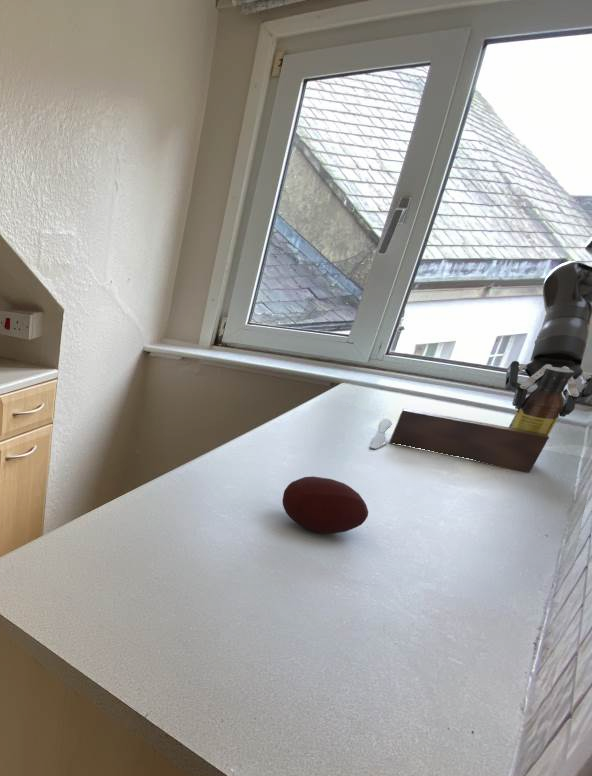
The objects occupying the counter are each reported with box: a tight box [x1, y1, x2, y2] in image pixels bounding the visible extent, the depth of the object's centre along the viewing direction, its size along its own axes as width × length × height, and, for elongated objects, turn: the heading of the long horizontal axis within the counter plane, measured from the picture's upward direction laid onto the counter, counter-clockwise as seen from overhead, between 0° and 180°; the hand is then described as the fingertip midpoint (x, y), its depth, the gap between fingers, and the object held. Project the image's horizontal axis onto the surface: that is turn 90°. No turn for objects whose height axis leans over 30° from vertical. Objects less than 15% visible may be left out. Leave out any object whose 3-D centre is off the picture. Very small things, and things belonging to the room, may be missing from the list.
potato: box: [281, 475, 369, 535], centre depth 89 cm, size 12×11×8 cm
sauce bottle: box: [508, 367, 574, 436], centre depth 115 cm, size 6×6×20 cm
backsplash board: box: [389, 407, 550, 474], centre depth 119 cm, size 24×2×8 cm, turn 53°
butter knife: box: [369, 418, 392, 450], centre depth 132 cm, size 1×27×3 cm
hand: (541, 410), depth 114 cm, fingers closed on sauce bottle, 6 cm apart
